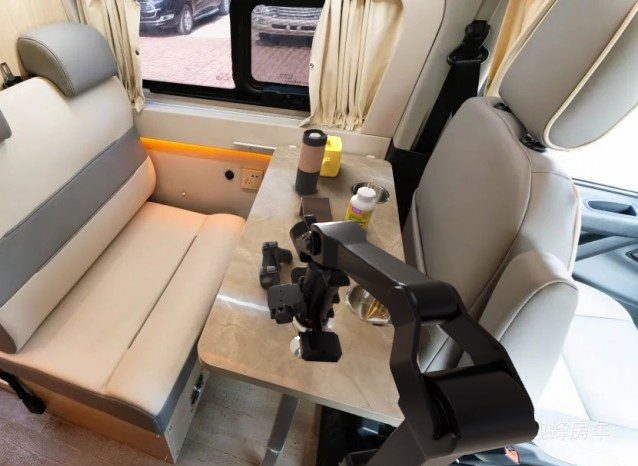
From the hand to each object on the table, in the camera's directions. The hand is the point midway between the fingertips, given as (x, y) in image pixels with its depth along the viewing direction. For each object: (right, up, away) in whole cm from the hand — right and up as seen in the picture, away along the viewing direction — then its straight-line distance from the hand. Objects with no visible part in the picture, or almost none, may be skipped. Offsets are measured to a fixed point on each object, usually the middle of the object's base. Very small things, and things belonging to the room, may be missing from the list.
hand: (305, 334), depth 65 cm
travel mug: (+12, +35, +49) cm, 62 cm away
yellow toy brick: (+21, +45, +59) cm, 77 cm away
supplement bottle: (+23, +22, +34) cm, 47 cm away
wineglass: (0, -4, +3) cm, 5 cm away
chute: (+11, +18, +29) cm, 36 cm away
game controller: (-3, +9, +20) cm, 22 cm away
